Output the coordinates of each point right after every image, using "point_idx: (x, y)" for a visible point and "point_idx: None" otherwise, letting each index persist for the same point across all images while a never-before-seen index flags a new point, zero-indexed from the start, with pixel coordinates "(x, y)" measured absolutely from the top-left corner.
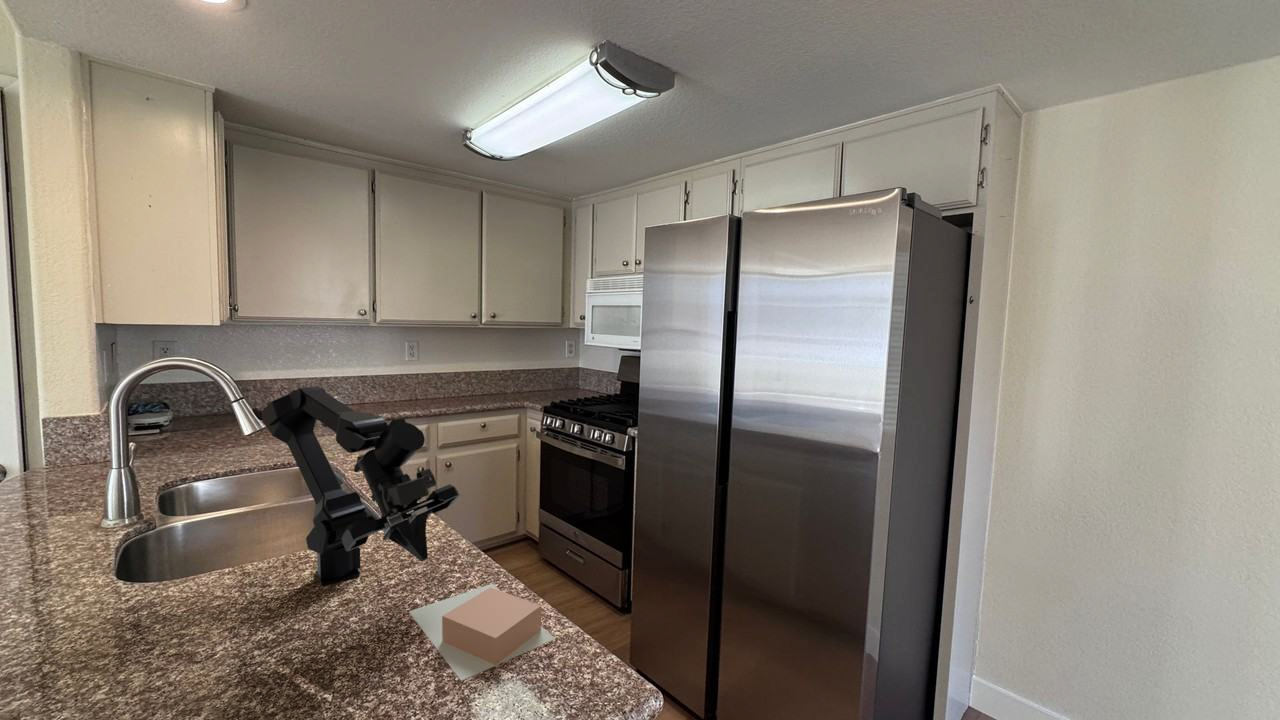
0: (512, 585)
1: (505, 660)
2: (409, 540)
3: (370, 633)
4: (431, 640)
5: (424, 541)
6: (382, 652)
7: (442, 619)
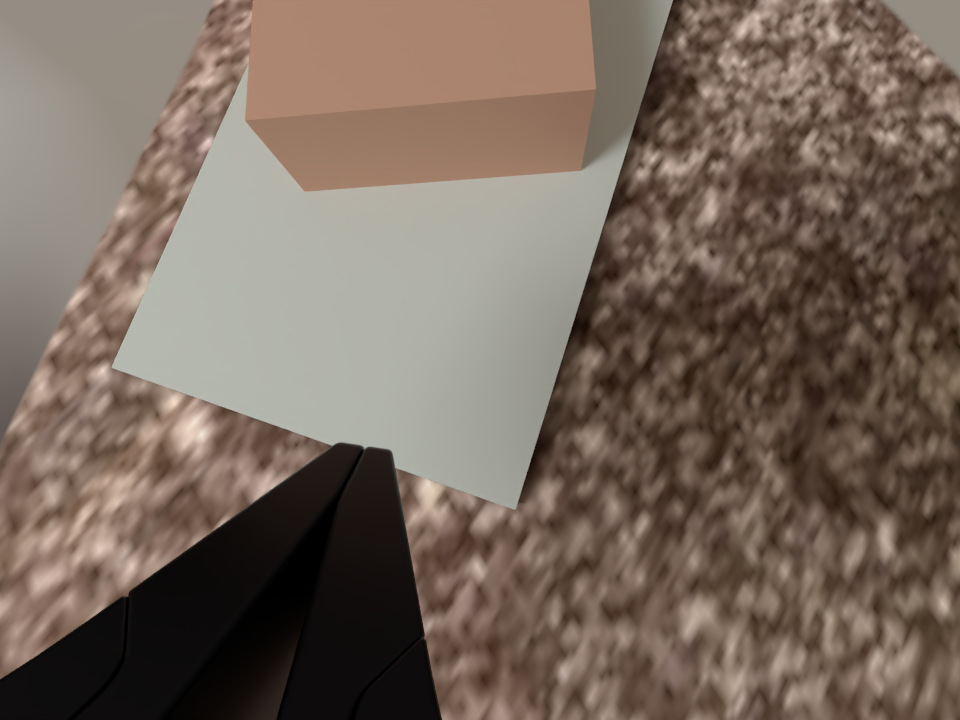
0: (75, 304)
1: None
2: (418, 706)
3: (719, 531)
4: (605, 208)
5: (217, 557)
6: (762, 344)
7: (592, 102)
